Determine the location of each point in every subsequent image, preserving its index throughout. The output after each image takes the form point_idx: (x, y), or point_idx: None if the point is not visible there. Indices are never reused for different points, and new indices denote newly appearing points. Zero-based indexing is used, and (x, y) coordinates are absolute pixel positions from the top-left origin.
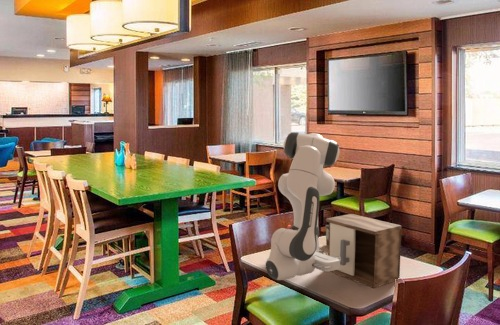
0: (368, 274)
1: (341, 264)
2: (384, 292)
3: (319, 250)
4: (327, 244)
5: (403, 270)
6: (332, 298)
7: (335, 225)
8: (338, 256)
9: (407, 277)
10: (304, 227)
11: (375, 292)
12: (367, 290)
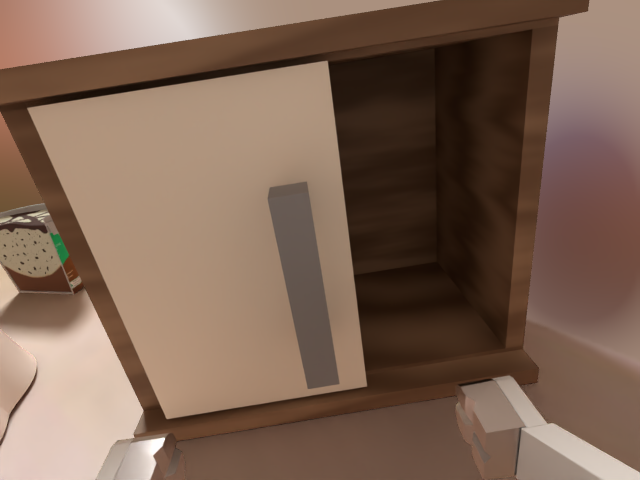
0: (385, 320)
1: (322, 384)
2: (617, 370)
3: (109, 468)
4: (24, 288)
5: None
6: None
7: (102, 108)
8: (489, 389)
9: None
10: None
11: (622, 409)
12: (581, 431)
